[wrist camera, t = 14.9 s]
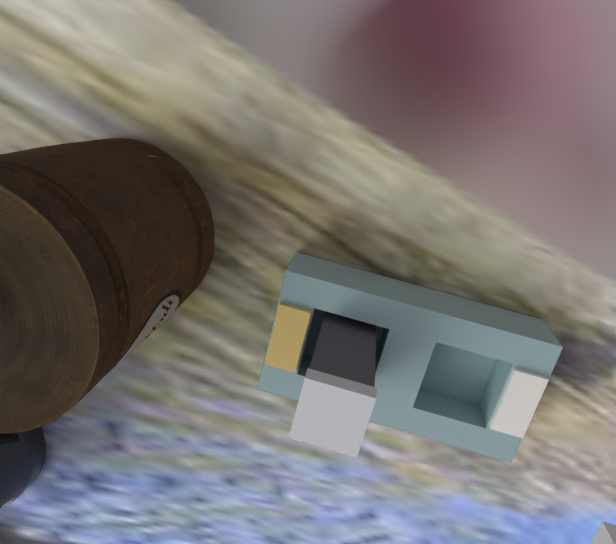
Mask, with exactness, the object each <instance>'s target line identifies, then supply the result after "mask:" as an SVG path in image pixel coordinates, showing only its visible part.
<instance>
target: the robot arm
mask: <svg viewBox="0 0 616 544" xmlns="http://www.w3.org/2000/svg"><path fill="white" fill-rule="evenodd" d="M44 453H45V448H44V439H43V435H42V431H41V428H40V427H38V428H34V429H31V430H28V431H23V432H17V433H5V434H0V508H1V507H4V506H6V505H8V504H9V503H11V502H12V501H14V500H15V499H16V498H18V497H19V496H20V495H21V494H22V493H23V492H24V491H25V490H26V488H27V487H28V486H29V485H30V484H31V483H32V482H33V481H34V480H35V479H36V477H37V476H38V474H39V472H40V470H41V468H42V465H43V461H44ZM591 544H616V525H612V524H609V523H605V522H602V524H601V526H600V527H599V529H598V531H597V533H596V535H595V537H594V538H593V540H592V542H591Z"/></svg>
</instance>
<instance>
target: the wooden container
mask: <svg viewBox="0 0 616 544" xmlns="http://www.w3.org/2000/svg"><path fill="white" fill-rule="evenodd" d="M213 242H214V234H213V223H212V218H211V214H210V210H209V207H208V204H207V201H206V199H205V197H204V195H203V193H202V192H201V190H200V188H199V186H198V185H197V183H196V182H195V180H194V179H193V178H192V177H191V175H190V174H189V173H188V171H187V170H185V169H184V168H183V167H182V166H181V165H180V164H179V163H178V162H177V161H176V160H174V159H173V158H172V157H171V156H169V155H168V154H166V153H165V152H163V151H161V150H160V149H158V148H156V147H154V146H151V145H148V144H146V143H143V142H139V141H134V140H130V139H101V140H93V141H86V142H76V143H67V144H59V145H53V146H46V147H40V148H34V149H29V150H24V151H19V152H13V153H7V154H1V155H0V434H5V433H17V432H23V431H28V430H31V429H34V428H38V427H40V426H43V425H45V424H47V423H50V422H51V421H53V420H55V419H57V418H58V417H60V416H61V415H63V414H64V413H65V412H67V411H68V410H69V409H70V408H72V407H73V406H74V405H75V404H76V403H77V402H78V401H79V400H81V399H82V398H83V397H84V396H85V395H86V394H87V393H88V392H89V391H90V390H91V389H92V388H93V387H94V386H95V385H96V384H97V383H98V382H99V381H100V380H101V379H102V378H103V377H104V376H105V375H106V374H107V373H108V372H109V371H110V370H112V369H113V368H114V367H115V366H116V365H117V364H118V363H119V362H120V361H121V360H122V359H124V358H125V357H126V356H127V355H128V354H129V353H130V352H131V351H132V350H133V349H134V348H136V347H137V346H138V345H139V344H140V343H141V342H142V341H143V340H145V339H146V338H147V337H148V336H149V335H150V334H151V333H152V332H153V331H154V330H155V329H157V328H158V327H159V326H160V325H161V324H162V323H163V322H164V321H165V320H166V319H167V318H168V317H169V316H170V315H171V314H172V313H173V312H174V311H175V310H176V309H177V308H178V307H179V306H180V304H181V303H182V302H183V301H184V300H185V299H186V298H187V297H188V296H189V295H190V294H191V293H192V292H193V291H194V290H195V289H196V287H197V286H198V285H199V283H200V282H201V281H202V279H203V277H204V275H205V273H206V271H207V269H208V267H209V264H210V261H211V257H212V252H213Z"/></svg>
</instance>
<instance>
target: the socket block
mask: <svg viewBox="0 0 616 544" xmlns="http://www.w3.org/2000/svg"><path fill="white" fill-rule="evenodd" d="M325 312H330V313H334V314H337V315H341V316H344V317H348V318H351V319H355V320H359V321H362V322H366V323H369V324H373V325H376V355H375V387H376V388H377V390H376V401H375V404H374V407H373V410H372V413H371V416H370V419H369V422H373V423H376V424H379V425H383V426H386V427H390V428H393V429H397V430H400V431H404V432H407V433H410V434H414V435H417V436H421V437H424V438H428V439H431V440H435V441H438V442H441V443H445V444H448V445H452V446H455V447H459V448H462V449H466V450H469V451H472V452H476V453H479V454H483V455H486V456H490V457H493V458H497V459H500V460H503V461H507V462H510V463H511V462H512V460H513V458H514V455H515V453H516V451H517V449H518V446H519V444H520V442H521V440H522V438H523V437H524V434H525V432H526V430H527V428H528V425H529V423H530V421H531V419H532V417H533V414H534V412H535V410H536V408H537V405H538V403H539V401H540V399H541V397H542V394H543V392H544V390H545V388H546V385H547V383H548V381H549V378H550V375H551V373H552V371H553V369H554V366H555V364H556V362H557V360H558V358H559V355H560V353H561V351H562V349H563V346H562V345H561V344H560V342H559V341H558V340H557V338H556V337H555V336H554V334H553V333H552V332H551V330H550V329H549V328H548V326H547V325H546V324H545V322H544V321H543V320H542V319H539V318H535V317H532V316H528V315H524V314H521V313H517V312H513V311H510V310H506V309H502V308H499V307H495V306H491V305H488V304H484V303H480V302H477V301H473V300H470V299H466V298H462V297H459V296H455V295H451V294H448V293H444V292H440V291H437V290H433V289H429V288H426V287H422V286H418V285H415V284H411V283H408V282H404V281H400V280H397V279H393V278H389V277H386V276H382V275H378V274H375V273H371V272H367V271H364V270H360V269H356V268H353V267H349V266H346V265H342V264H338V263H335V262H331V261H327V260H324V259H320V258H316V257H313V256H309V255H305V254H302V253H298V252H296V254H295V256H294V257H293V259H292V261H291V262H290V264H289V266H288V267H287V269H286V271H285V275H284V279H283V283H282V287H281V292H280V296H279V300H278V304H277V308H276V312H275V316H274V321H273V325H272V329H271V333H270V337H269V341H268V346H267V350H266V354H265V358H264V362H263V366H262V371H261V375H260V379H259V383H258V387H257V389H259V390H262V391H266V392H269V393H273V394H276V395H280V396H283V397H286V398H290V399H293V400H297V401H299V397H300V394H301V390H302V387H303V383H304V379H305V376H306V372H307V369H308V368H310V364H311V361H312V357H313V354H314V350H315V347H316V343H317V340H318V336H319V333H320V329H321V326H322V322H323V319H324V315H325Z"/></svg>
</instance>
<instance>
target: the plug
mask: <svg viewBox="0 0 616 544" xmlns="http://www.w3.org/2000/svg"><path fill="white" fill-rule="evenodd" d="M375 355H376V325H373V324H369V323H366V322H362V321H359V320H355V319H351V318H348V317H344V316H341V315H337V314H334V313H330V312H325V315H324V319H323V322H322V326H321V329H320V333H319V336H318V340H317V343H316V347H315V350H314V354H313V357H312V361H311V364H310V368H308V369H307V372H306V376H305V379H304V383H303V387H302V390H301V394H300V397H299V401H298V405H297V408H296V412H295V416H294V419H293V423H292V427H291V430H290V434H289V438H290V439H294V440H297V441H300V442H304V443H307V444H311V445H314V446H317V447H321V448H324V449H328V450H331V451H334V452H338V453H341V454H345V455H348V456H351V457H355V458H357V455H358V452H359V449H360V446H361V443H362V440H363V437H364V434H365V431H366V428H367V425H368V422H369V419H370V416H371V413H372V410H373V407H374V404H375V401H376V390H377V388H376V387H375Z"/></svg>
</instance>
